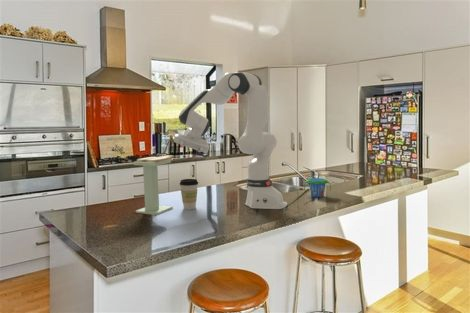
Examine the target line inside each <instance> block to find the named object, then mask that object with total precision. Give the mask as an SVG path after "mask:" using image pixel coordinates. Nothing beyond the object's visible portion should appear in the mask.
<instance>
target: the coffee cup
mask: <svg viewBox="0 0 470 313" xmlns="http://www.w3.org/2000/svg"><path fill="white" fill-rule="evenodd" d="M198 184H199V182H198V180H197V179H196V178H184V179H181V180H180V182H179V186H180V193H181V200H182V204H183V210H186V211H187V210H188V211H189V210H190V211H191V210H195V209H196V208H197V207H196V206H197V198H198Z"/></svg>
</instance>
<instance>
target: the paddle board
mask: <svg viewBox="0 0 470 313" xmlns="http://www.w3.org/2000/svg"><path fill="white" fill-rule="evenodd" d="M173 158H174V155H173V154H171V155H169V154H168V155H162V156H160V155H159V156H148V157H143V158H137V159H136V162H155V163H156V162H161V161H166V160H171V159H173Z"/></svg>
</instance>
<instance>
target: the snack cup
mask: <svg viewBox="0 0 470 313" xmlns="http://www.w3.org/2000/svg"><path fill="white" fill-rule="evenodd" d="M306 183H307V184H308V187H309V192H310V196H311V198H323V197H324V196H325V190H326V183H328V184H329V192H331V189H332V186H331V182H330V181H329V180H327V179H326V178H321V177H311V178H308V179H307V180H306V181H305V182H304V183H303V190H304V192H305V191H306V188H305V186H306V185H305V184H306Z"/></svg>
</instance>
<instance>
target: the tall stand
mask: <svg viewBox="0 0 470 313" xmlns="http://www.w3.org/2000/svg"><path fill="white" fill-rule="evenodd" d="M171 163H172V160H171V159H170V160H166V161H161V162H156V163H155V162H137V161H133V164H132V165H133V166H142V169H143V189H144V190H143V192H144V193H143V194H144V207H142V208H139V209H136V210H135V213H136V214H145V215H153V216H158V215H160V214H164V213H166V212H168V211H171V210H173V209H174V207H173V206H171V205H168V206H167V205H160V204H159V203H160V198H159V178H158V177H159V175H158V166H161V165H167V164H171ZM170 209H171V210H170Z"/></svg>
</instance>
